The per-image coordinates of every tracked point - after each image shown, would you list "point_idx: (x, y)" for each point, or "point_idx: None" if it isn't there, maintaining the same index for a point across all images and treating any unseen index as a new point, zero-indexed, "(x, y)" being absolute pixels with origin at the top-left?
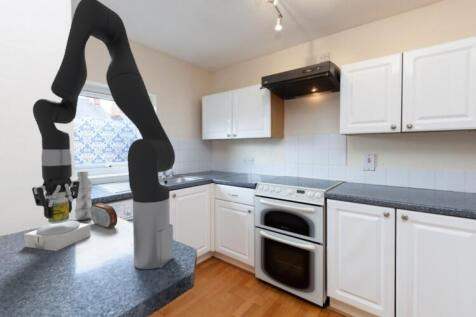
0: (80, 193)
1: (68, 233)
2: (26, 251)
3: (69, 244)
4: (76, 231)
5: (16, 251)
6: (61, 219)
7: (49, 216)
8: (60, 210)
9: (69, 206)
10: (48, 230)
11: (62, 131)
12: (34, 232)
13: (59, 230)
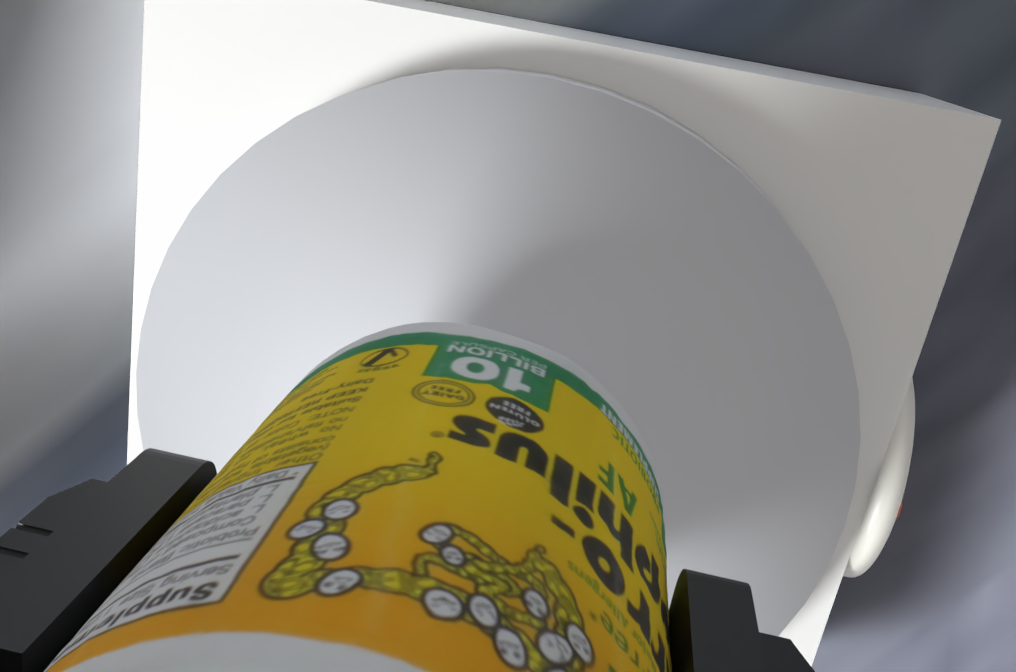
0: None
1: (703, 63)
2: (905, 523)
3: (680, 48)
4: (513, 26)
5: (896, 644)
6: (572, 389)
7: (762, 639)
8: (563, 532)
9: (101, 550)
10: (730, 478)
11: None
12: None
13: (729, 257)
